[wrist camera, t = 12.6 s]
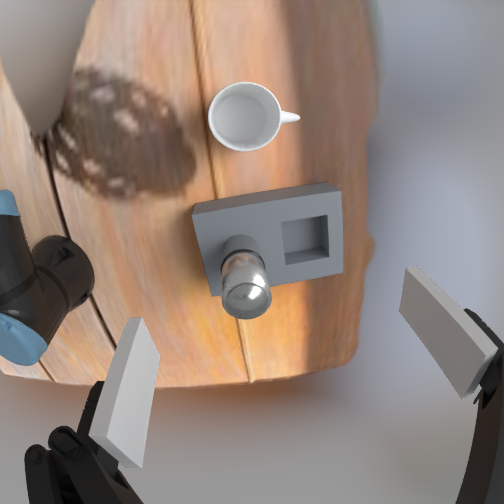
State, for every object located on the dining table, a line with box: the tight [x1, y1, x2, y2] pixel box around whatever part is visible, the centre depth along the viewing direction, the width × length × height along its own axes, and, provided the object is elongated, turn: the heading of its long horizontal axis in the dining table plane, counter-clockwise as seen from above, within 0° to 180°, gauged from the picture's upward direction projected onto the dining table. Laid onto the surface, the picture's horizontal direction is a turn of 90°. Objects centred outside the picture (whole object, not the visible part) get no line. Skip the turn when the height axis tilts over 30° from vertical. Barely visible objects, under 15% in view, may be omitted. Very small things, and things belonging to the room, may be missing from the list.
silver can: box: [221, 235, 272, 319], centre depth 38 cm, size 6×6×13 cm
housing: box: [191, 182, 343, 297], centre depth 46 cm, size 22×14×6 cm, turn 99°
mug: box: [208, 82, 300, 152], centre depth 36 cm, size 9×12×11 cm
